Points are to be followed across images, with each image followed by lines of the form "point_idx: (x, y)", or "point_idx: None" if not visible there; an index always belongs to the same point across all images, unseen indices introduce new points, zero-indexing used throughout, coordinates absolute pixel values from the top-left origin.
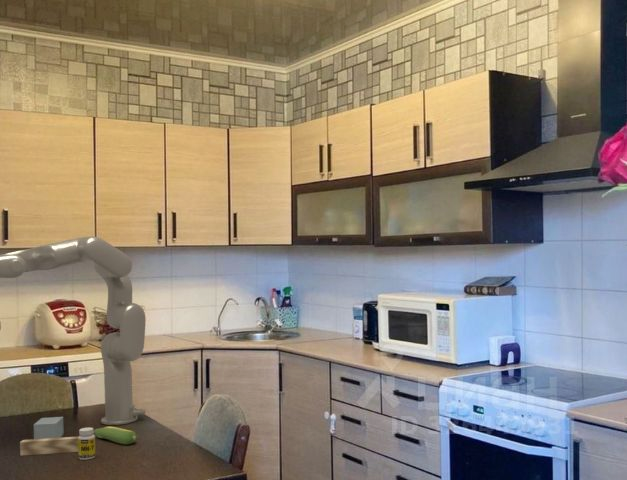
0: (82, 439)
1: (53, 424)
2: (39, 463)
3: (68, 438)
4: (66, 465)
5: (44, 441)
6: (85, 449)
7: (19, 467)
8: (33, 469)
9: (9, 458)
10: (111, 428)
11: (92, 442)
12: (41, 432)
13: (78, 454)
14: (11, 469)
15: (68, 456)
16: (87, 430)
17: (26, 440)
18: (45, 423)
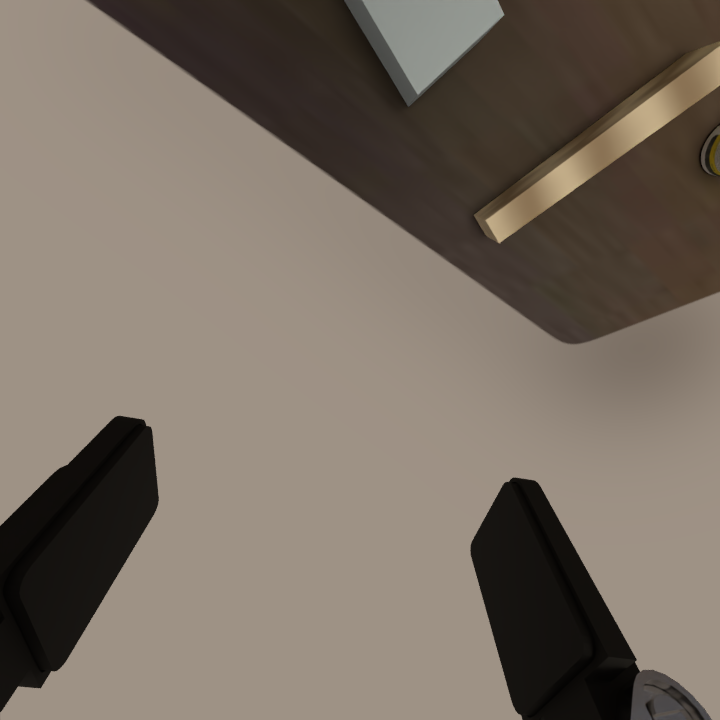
0: None
1: (491, 26)
2: (599, 258)
3: (652, 121)
4: (695, 234)
5: (572, 189)
6: None
7: (565, 303)
8: (616, 297)
9: (474, 267)
10: None
11: None
12: (438, 77)
13: (715, 171)
14: (556, 321)
15: (650, 167)
16: None
17: (503, 217)
18: (452, 45)
